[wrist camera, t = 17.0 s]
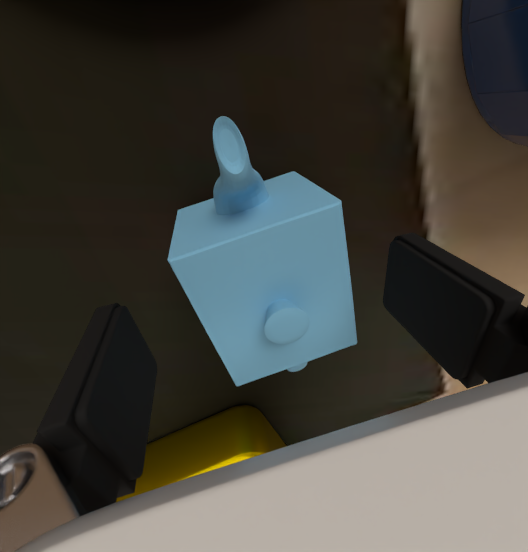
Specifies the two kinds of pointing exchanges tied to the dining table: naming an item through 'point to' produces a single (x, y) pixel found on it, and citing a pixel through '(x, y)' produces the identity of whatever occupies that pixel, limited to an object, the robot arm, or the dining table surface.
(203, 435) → the element tile
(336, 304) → the teapot
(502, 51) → the pot
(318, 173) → the dining table surface
